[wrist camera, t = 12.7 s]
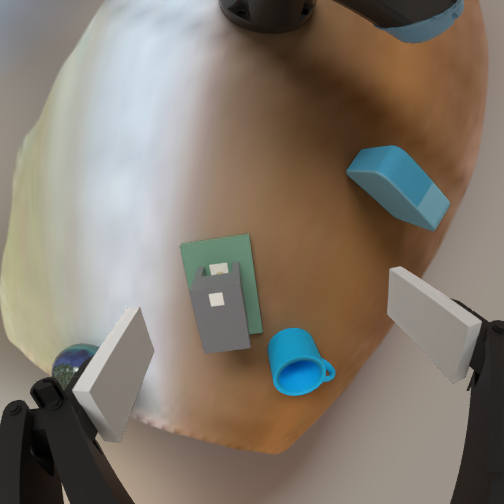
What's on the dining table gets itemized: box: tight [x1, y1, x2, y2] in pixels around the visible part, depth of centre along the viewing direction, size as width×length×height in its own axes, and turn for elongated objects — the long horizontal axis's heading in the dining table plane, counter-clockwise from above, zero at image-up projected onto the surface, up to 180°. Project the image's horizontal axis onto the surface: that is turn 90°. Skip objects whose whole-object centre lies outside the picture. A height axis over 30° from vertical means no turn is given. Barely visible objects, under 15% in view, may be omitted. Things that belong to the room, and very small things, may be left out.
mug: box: [268, 328, 336, 396], centre depth 45 cm, size 12×8×8 cm
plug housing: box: [189, 261, 251, 354], centre depth 39 cm, size 9×6×9 cm, turn 8°
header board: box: [180, 234, 263, 334], centre depth 42 cm, size 16×10×4 cm, turn 8°
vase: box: [51, 344, 100, 390], centre depth 41 cm, size 15×15×13 cm
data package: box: [346, 145, 450, 231], centre depth 36 cm, size 12×4×12 cm, turn 55°
